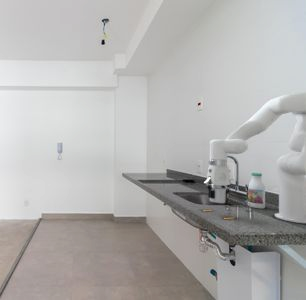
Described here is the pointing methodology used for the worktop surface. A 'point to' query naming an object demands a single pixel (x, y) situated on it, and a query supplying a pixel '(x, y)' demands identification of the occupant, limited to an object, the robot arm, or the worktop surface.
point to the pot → (219, 195)
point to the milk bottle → (256, 192)
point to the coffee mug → (226, 198)
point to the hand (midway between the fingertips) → (217, 197)
